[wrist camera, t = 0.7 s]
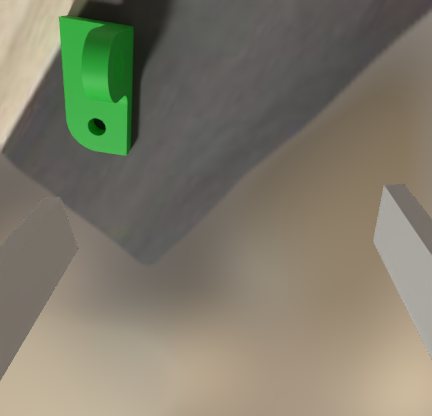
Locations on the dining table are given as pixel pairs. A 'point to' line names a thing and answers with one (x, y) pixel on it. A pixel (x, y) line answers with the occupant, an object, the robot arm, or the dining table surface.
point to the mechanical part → (98, 82)
